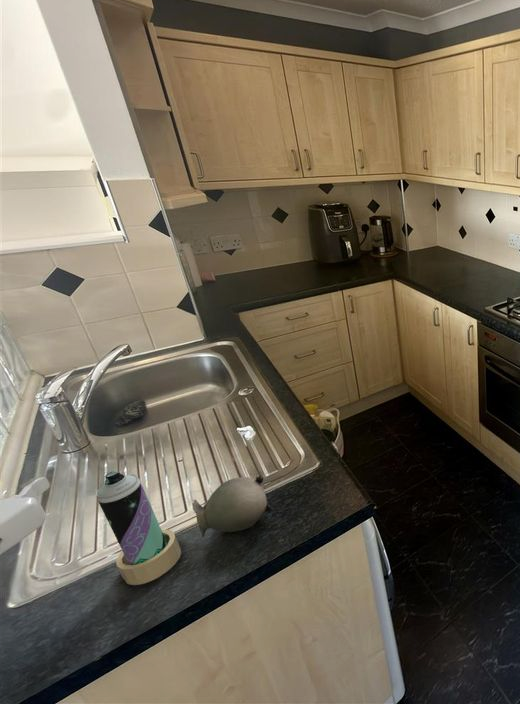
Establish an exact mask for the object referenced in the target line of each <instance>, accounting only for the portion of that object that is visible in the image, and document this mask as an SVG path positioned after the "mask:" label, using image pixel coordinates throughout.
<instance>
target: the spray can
mask: <svg viewBox="0 0 520 704" xmlns="http://www.w3.org/2000/svg"><path fill="white" fill-rule="evenodd" d="M95 496H96V500H97V503H98V504H99V506H100V508H101V511H102V513H103V514H104V517H105V518H106V520H107V522H108V525H109V526H110V529H111V530H112V533H113V535H114V536H115V539H116V540H117V543H118V545H119V547H120V549H121V552H122V551H123V553H124V555H125V557H126V559H127V561H128V563H129V565H136V564H139V563H142V562H145V561H147V560H149V559H151V558H153V557H154V556H156V555H157V554H158V553H160V552H161V551H162V550H163V549H164V548H165V547H166V546H167V545H168V544H167V542H166V539H165V537H164V535H163V532H162V530H163V529H162V527H161V526H160V523H159V521H158V518H157V517H156V515H155V512H154V509H153V507H152V505H151V502H150V500H149V498H148V495H147V493H146V492H145V489H144V487H143V484H142V482H141V479H140V478H138V476H137V475H136V474H129V473H128V474H124V473H120V471H116V470H115V471H110V472H108V473H107V474H105V480H104V481H103V484H102V485H101V486H99V488H98V489H97V490H96V492H95Z"/></svg>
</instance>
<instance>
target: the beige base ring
mask: <svg viewBox="0 0 520 704" xmlns="http://www.w3.org/2000/svg"><path fill="white" fill-rule="evenodd" d="M161 530H162V532H163V535H164V537H165V539H166V542H167V544H168V545H167V546H166V547H165V548H164V549H163V550H162V551H161V552H160V553H158V554H157V555H156V556H154V557H153V558H151V559H149V560H147V561H145V562H142V563H139V564H136V565H129V563H128V561H127V559H126V557H125V555H124V553H123V551H122V550H121V552H120V553H119V554H118V556H117V557H116V560H115V563H116V568H117V570H118V572H119V574H120V576H121V577H122V579H123V581H124V582H125V583H126V584H127V585H130V586H141V585H145V584H147V583H150V582H152V581H154V580H156V579H159V578H160V577H161V576H163V575H165V574H166V573H167V572H168V571H170V570H171V569H172V568H173V567H174V566H175V565H176V564H177V563H178V561H179V560H180V558H181V556H182V548H181V546H180V543H179V541H178V538H177V536H176V534H175V532H174V531H172V530H170V529H161Z"/></svg>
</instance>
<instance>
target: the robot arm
mask: <svg viewBox="0 0 520 704" xmlns="http://www.w3.org/2000/svg"><path fill="white" fill-rule="evenodd" d="M50 487H51V484H50V481H49V479H48V478H47V477H42V476H41V477H32V478H30V479H29V480H28V481H26V482H24V483H22V484H21V485H19V488H20V489H21V491H20V492H19V493H18V494H12V495H11V496H9V497H8V498H0V555H2V554H4V553H5V552H7V551H8V550H10V549H11V548H13V547H14V546H16V545H17V544H19V543H20V542H21V541H23V540H24V539H25V538H28V536H30V535H31V534H32V533H34V532H35V531H36V530H38V529H39V528H40V527H41V526H43V524H45V521H46V518H47V514H46V512H45V509H44V508H43V506H42V504H41V503H40V501H39V500H38V497H39V496H40V495H42V494H43V493H44V492H46V491H47V490H49V488H50Z"/></svg>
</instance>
